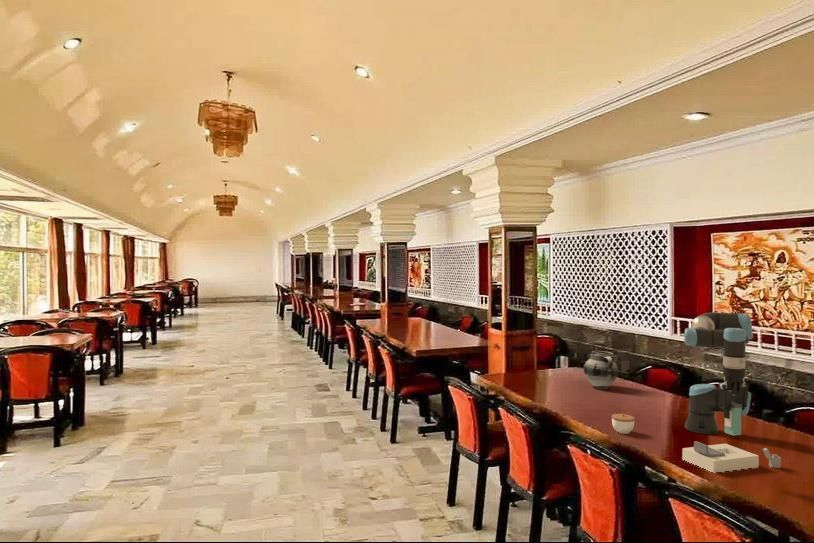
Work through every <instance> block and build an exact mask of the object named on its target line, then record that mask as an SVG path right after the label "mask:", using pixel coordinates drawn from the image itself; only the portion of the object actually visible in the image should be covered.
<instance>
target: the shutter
mask: <svg viewBox="0 0 814 543" xmlns="http://www.w3.org/2000/svg"><path fill="white" fill-rule="evenodd" d="M693 447H694V451H696V452H699V453H701V454H704V455H706V456H709V457H715V456H723V455H725V453H723V452H720V451H718V450H715V449H712V448H710V447H708V444H705V443H702V442H699V441H697V440H695V441H693Z"/></svg>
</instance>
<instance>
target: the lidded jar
mask: <svg viewBox="0 0 814 543" xmlns="http://www.w3.org/2000/svg"><path fill="white" fill-rule="evenodd" d="M635 421H636V420H635V417H634V416H633V415H629V414H625V413H614V414H612V415H611V424H612V427H613V429H614V431H617V432H616V433H618V432H619V433H618V434H623V435H628V434H630V433H631V432H632V431H633V429H634V428H635Z"/></svg>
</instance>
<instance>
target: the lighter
mask: <svg viewBox="0 0 814 543" xmlns="http://www.w3.org/2000/svg"><path fill="white" fill-rule="evenodd" d="M762 451H763V453H764V456H765V458H766V459H767V460H768V467H769V466H770V467H769V468H771V467H772V468H771V469H781V466H782V457H781V456H779V454H776V453H773V454H771V453H770V450H769V448H767V447H764V448H762ZM773 467H774V468H773Z"/></svg>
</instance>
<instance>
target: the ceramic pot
mask: <svg viewBox="0 0 814 543" xmlns="http://www.w3.org/2000/svg"><path fill="white" fill-rule="evenodd" d="M619 372H620V369H619V366H618V365H617V364H616V362H615V355H614V353H613V352H609V351H606V350H605V351H602V350H592V351H591V353H590V356H589V359H588V360H587V361H585V363H584V364H583V374H584V376H585V378H586V380H587V381H588V382H589V383H591V385H592V388H593V389H597V390H608V389H609V386H610V385H612V384H613V383H614V382H615V381H616V379H617V378H618V376H619Z"/></svg>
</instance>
